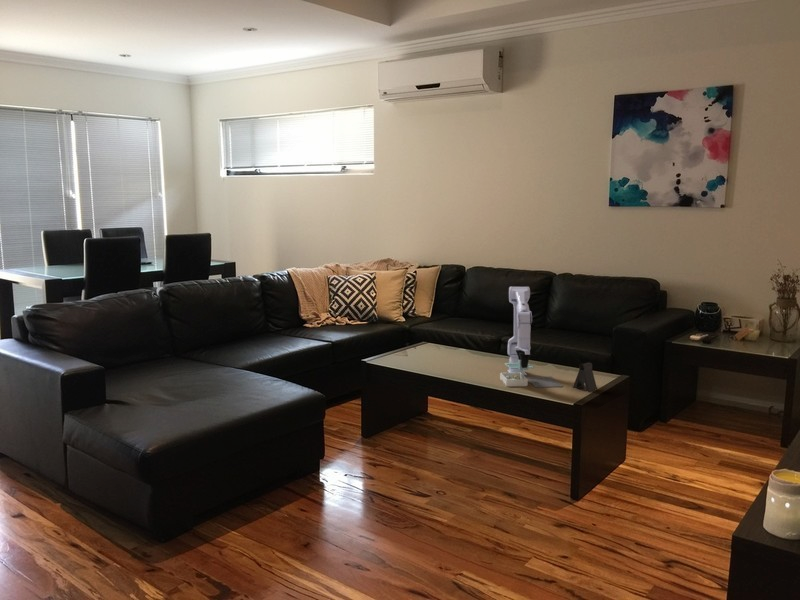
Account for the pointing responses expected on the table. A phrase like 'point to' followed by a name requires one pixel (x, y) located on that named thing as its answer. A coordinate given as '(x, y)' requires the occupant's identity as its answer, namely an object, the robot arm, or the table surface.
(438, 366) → the table surface
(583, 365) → the phone stand
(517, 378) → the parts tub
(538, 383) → the mat
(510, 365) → the lid
